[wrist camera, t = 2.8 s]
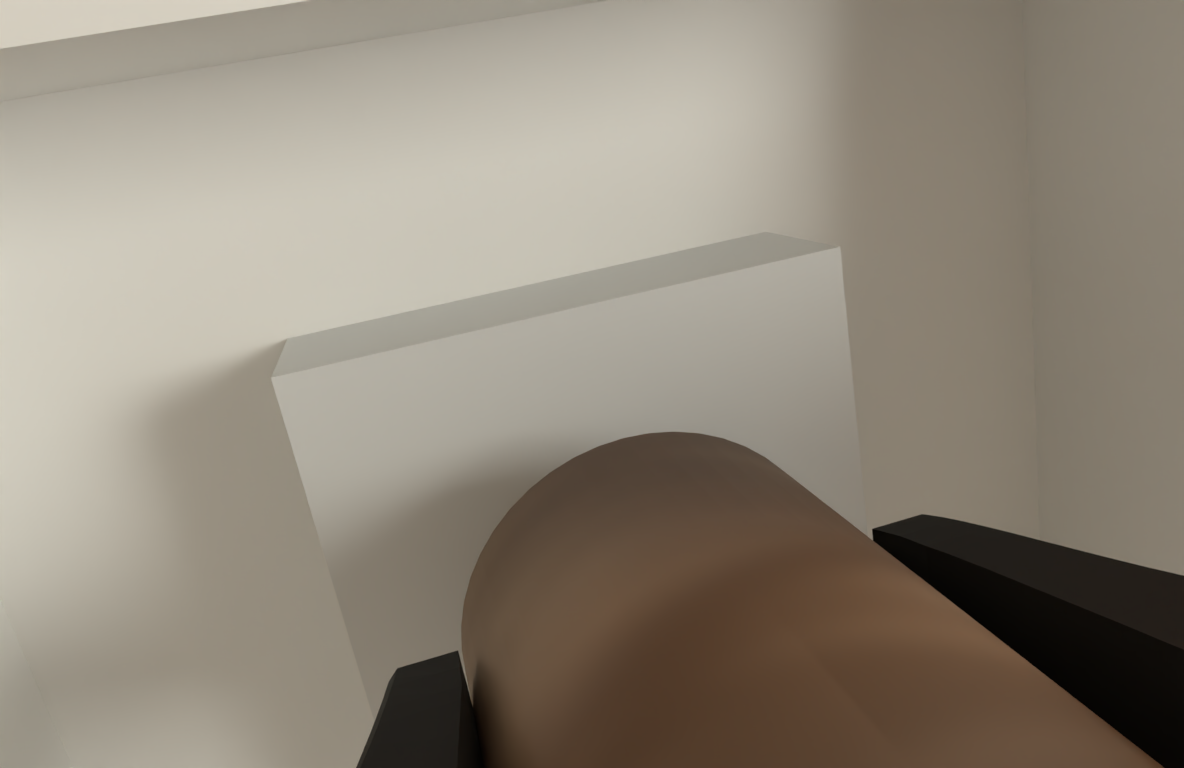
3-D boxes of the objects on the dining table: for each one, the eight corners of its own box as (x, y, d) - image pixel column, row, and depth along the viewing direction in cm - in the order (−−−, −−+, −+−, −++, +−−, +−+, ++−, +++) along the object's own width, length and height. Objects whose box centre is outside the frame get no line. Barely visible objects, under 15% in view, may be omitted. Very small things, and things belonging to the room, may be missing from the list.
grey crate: (1038, -137, 14) (1340, -265, 9) (1061, 724, 18) (1269, 897, 14) (-291, 64, 10) (-747, 4, 6) (151, 1047, 15) (65, 1398, 11)
